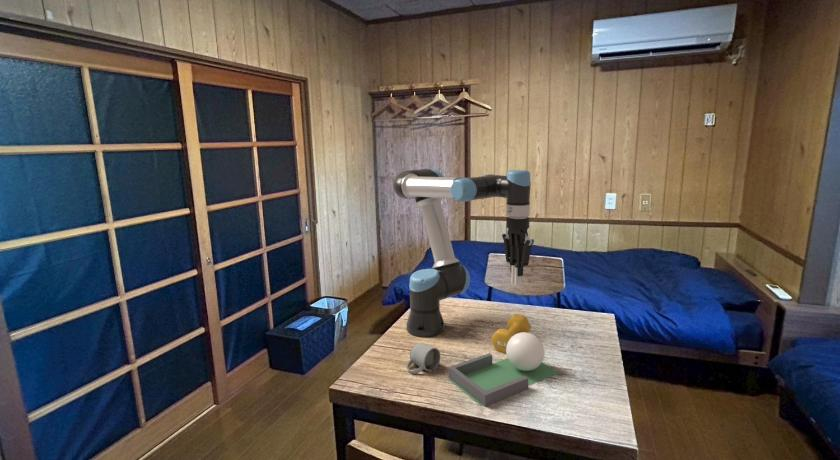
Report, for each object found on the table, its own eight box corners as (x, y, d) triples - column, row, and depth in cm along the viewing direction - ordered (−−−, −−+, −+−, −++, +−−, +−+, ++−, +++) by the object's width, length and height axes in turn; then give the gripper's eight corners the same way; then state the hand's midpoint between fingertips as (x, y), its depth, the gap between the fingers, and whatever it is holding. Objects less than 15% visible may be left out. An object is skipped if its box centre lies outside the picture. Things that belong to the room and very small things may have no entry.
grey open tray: (448, 377, 135) (448, 367, 134) (489, 362, 143) (489, 353, 143) (484, 406, 120) (484, 395, 119) (528, 388, 128) (528, 377, 127)
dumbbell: (513, 357, 147) (514, 335, 145) (489, 351, 152) (489, 329, 150) (532, 336, 162) (532, 316, 161) (509, 331, 167) (510, 311, 166)
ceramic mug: (424, 357, 148) (423, 337, 147) (441, 366, 142) (440, 345, 141) (401, 370, 141) (400, 348, 139) (418, 379, 135) (417, 357, 134)
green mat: (448, 380, 134) (448, 379, 134) (524, 353, 150) (524, 352, 150) (480, 406, 120) (480, 405, 120) (559, 373, 136) (559, 372, 136)
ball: (498, 365, 141) (498, 331, 139) (524, 355, 147) (525, 323, 145) (524, 382, 131) (525, 346, 129) (551, 371, 137) (553, 336, 135)
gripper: (495, 215, 147) (494, 280, 152) (524, 221, 135) (522, 291, 140) (511, 212, 151) (510, 276, 156) (541, 218, 139) (539, 287, 144)
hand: (516, 283), depth 148 cm, fingers closed
